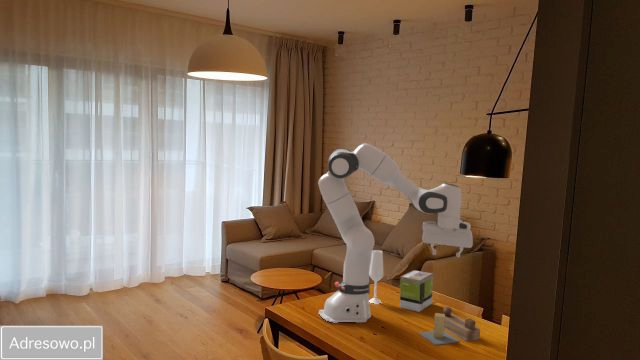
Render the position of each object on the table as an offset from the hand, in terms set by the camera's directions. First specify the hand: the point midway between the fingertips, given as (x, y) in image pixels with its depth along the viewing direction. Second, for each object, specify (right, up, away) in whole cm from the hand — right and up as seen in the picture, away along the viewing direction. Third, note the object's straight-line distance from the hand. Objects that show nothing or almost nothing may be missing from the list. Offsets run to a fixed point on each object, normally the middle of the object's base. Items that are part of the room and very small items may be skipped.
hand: (445, 255), depth 191 cm
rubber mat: (-7, -29, -15) cm, 33 cm away
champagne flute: (-26, -26, +25) cm, 45 cm away
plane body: (+3, -29, -7) cm, 30 cm away
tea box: (-8, -27, +22) cm, 36 cm away
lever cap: (-7, -29, -15) cm, 33 cm away
